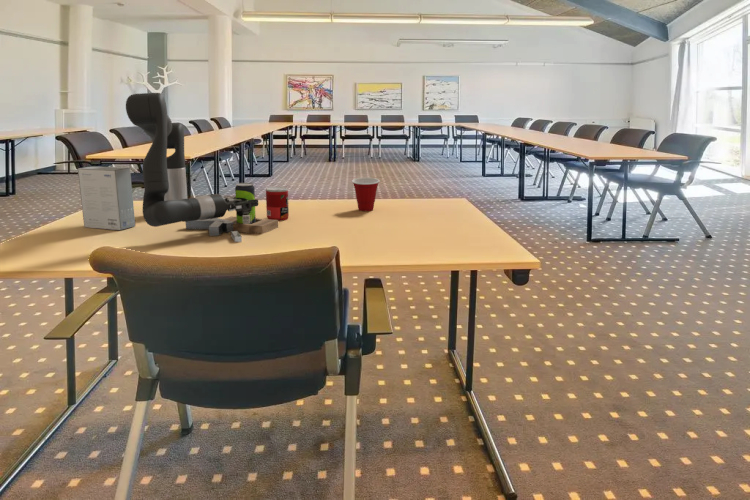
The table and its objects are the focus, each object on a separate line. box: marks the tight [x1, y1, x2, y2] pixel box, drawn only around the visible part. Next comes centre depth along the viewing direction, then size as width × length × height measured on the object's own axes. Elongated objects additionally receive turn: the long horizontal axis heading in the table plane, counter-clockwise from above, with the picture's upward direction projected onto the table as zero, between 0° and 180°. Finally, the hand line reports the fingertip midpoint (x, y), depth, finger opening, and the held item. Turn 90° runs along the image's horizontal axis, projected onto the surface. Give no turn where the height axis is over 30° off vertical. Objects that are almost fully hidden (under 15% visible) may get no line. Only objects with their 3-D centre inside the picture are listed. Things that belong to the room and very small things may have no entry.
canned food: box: [265, 186, 290, 222], centre depth 227 cm, size 8×8×11 cm
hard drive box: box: [77, 166, 136, 231], centre depth 210 cm, size 16×8×20 cm, turn 71°
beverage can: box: [234, 182, 257, 224], centre depth 210 cm, size 6×6×15 cm
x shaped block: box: [185, 217, 234, 237], centre depth 208 cm, size 10×18×3 cm, turn 46°
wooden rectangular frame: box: [223, 215, 279, 235], centre depth 211 cm, size 18×11×2 cm, turn 72°
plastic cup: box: [351, 177, 381, 212], centre depth 246 cm, size 11×11×12 cm
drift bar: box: [230, 231, 243, 243], centre depth 196 cm, size 8×2×2 cm, turn 21°
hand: (251, 201), depth 211 cm, fingers open, 6 cm apart
